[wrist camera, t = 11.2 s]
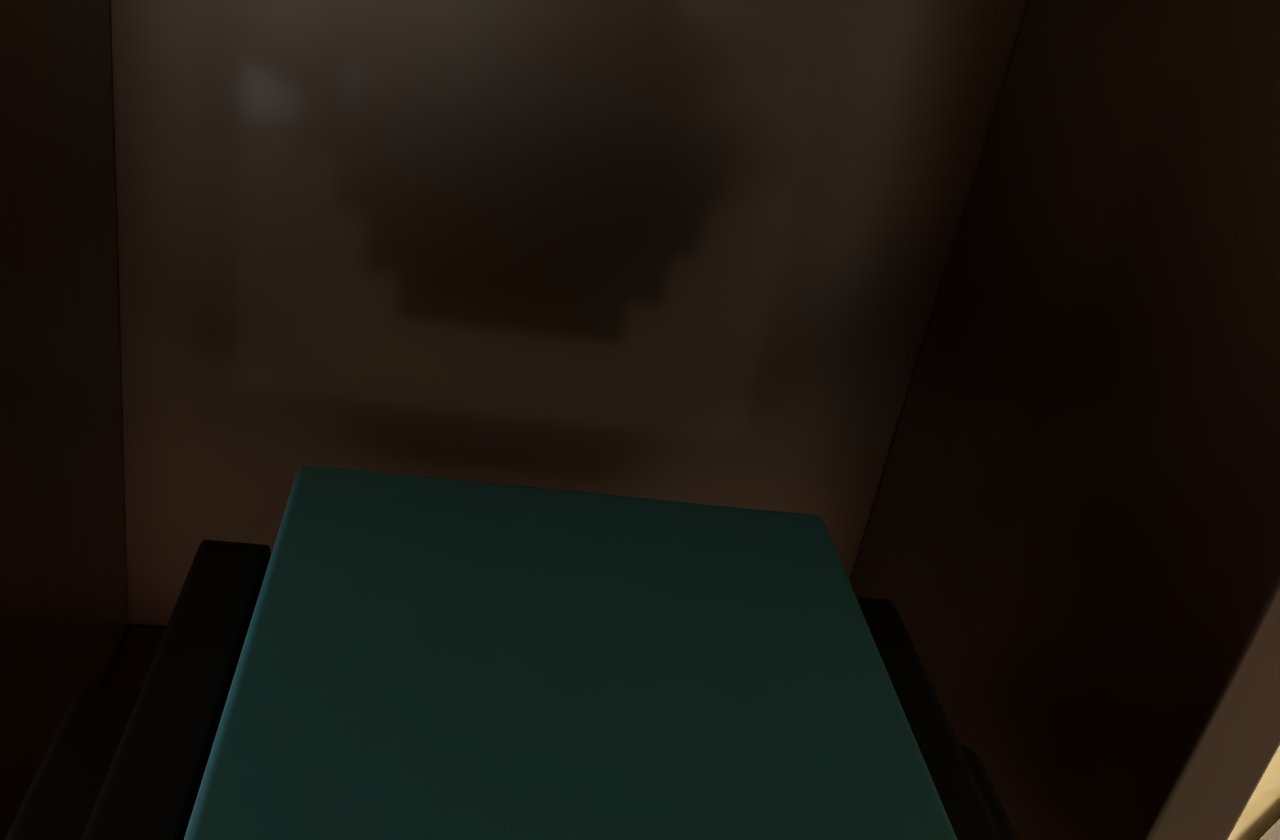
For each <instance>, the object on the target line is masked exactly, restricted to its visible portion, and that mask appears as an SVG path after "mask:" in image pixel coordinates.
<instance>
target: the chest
mask: <svg viewBox="0 0 1280 840" xmlns="http://www.w3.org/2000/svg"><path fill="white" fill-rule="evenodd" d="M306 465H312V466H322V467H332V468H342V469H353V470H363V471H373V472H383V473H393V474H403V475H414V476H424V477H434V478H444V479H454V480H464V481H475V482H485V483H495V484H505V485H515V486H525V487H536V488H546V489H556V490H566V491H576V492H586V493H597V494H607V495H617V496H627V497H637V498H647V499H658V500H668V501H678V502H688V503H698V504H708V505H719V506H729V507H739V508H749V509H759V510H769V511H780V512H790V513H800V514H810V515H817V516H819V517H821V518H822V519H823V520H824V522H825V525H826V527H827V530H828V532H829V534H830V537H831V539H832V541H833V544H834V546H835V549H836V551H837V553H838V556H839V558H840V561H841V563H842V565H843V568H844V570H845V572H846V575H847V577H848V580H849V582H850V584H851V587H852V589H853V592H854V594H855V596H857V597H869V598H880V599H888V600H890V601H892V603H893V604H894V606H895V607H896V609H897V611H898V613H899V615H900V617H901V620H902V622H903V624H904V626H905V628H906V630H907V633H908V635H909V637H910V639H911V641H912V643H913V646H914V648H915V650H916V652H917V654H918V657H919V659H920V661H921V663H922V665H923V667H924V670H925V672H926V674H927V676H928V678H929V680H930V683H931V685H932V687H933V689H934V691H935V693H936V696H937V698H938V700H939V702H940V704H941V707H942V709H943V711H944V713H945V715H946V717H947V720H948V722H949V724H950V726H951V728H952V730H953V733H954V735H955V737H956V739H957V741H958V744H959V745H965V746H967V747H968V748H970V749H971V750H973V751H974V752H975V753H976V754H977V756H978V757H979V759H980V760H981V762H982V764H983V765H984V767H985V769H986V771H987V773H988V776H989V778H990V780H991V782H992V784H993V786H994V788H995V790H996V792H997V795H998V797H999V799H1000V801H1001V803H1002V805H1003V807H1004V809H1005V811H1006V813H1007V816H1008V818H1009V820H1010V822H1011V824H1012V826H1013V828H1014V830H1015V832H1016V835H1017V837H1018V839H1019V840H1227V839H1228V837H1229V836H1230V834H1231V832H1232V830H1233V828H1234V827H1235V825H1236V823H1237V821H1238V819H1239V818H1240V816H1241V814H1242V812H1243V810H1244V808H1245V807H1246V805H1247V803H1248V801H1249V799H1250V798H1251V796H1252V794H1253V792H1254V790H1255V788H1256V787H1257V785H1258V783H1259V781H1260V779H1261V778H1262V776H1263V774H1264V772H1265V770H1266V769H1267V767H1268V765H1269V763H1270V761H1271V759H1272V758H1273V756H1274V754H1275V752H1276V750H1277V749H1278V747H1279V745H1280V0H0V840H5V838H6V836H7V833H8V831H9V829H10V827H11V825H12V823H13V821H14V819H15V817H16V814H17V812H18V810H19V808H20V806H21V804H22V802H23V800H24V798H25V796H26V793H27V791H28V789H29V787H30V785H31V783H32V781H33V779H34V777H35V774H36V772H37V770H38V768H39V766H40V764H41V762H42V760H43V758H44V756H45V753H46V751H47V749H48V747H49V745H50V743H51V741H52V739H53V737H54V734H55V732H56V730H57V728H58V726H59V724H60V722H61V720H62V718H63V716H64V713H65V711H66V709H67V707H68V705H69V704H70V702H71V700H72V698H73V697H74V695H75V693H76V692H77V691H78V690H80V689H81V688H82V687H83V686H86V687H101V688H116V689H131V690H141V689H142V686H143V684H144V681H145V679H146V676H147V674H148V671H149V669H150V666H151V664H152V661H153V659H154V656H155V654H156V652H157V649H158V647H159V644H160V642H161V639H162V637H163V634H164V632H165V629H166V627H167V624H168V622H169V619H170V617H171V614H172V612H173V609H174V607H175V604H176V602H177V599H178V597H179V595H180V592H181V590H182V587H183V585H184V582H185V580H186V577H187V575H188V572H189V570H190V567H191V565H192V562H193V560H194V557H195V555H196V552H197V550H198V548H199V546H200V544H201V542H202V541H203V540H216V541H228V542H239V543H251V544H262V545H269V547H270V552H271V554H272V551H273V547H274V544H275V541H276V538H277V534H278V531H279V528H280V525H281V521H282V518H283V515H284V512H285V508H286V505H287V502H288V499H289V495H290V492H291V489H292V485H293V482H294V479H295V476H296V473H297V471H298V470H299V468H300V467H301V466H306Z"/></svg>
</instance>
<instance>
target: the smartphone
mask: <svg viewBox="0 0 1280 840" xmlns="http://www.w3.org/2000/svg"><path fill="white" fill-rule="evenodd" d="M1259 840H1280V819H1279V820H1278V821H1277V822H1276V823H1275V824H1274V825H1273V826H1272V827H1271V828H1270V829H1269V830H1268V831H1267V832H1266V833H1265V834H1264V835H1263V836H1262V837H1261V838H1260V839H1259Z"/></svg>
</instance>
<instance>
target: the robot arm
mask: <svg viewBox="0 0 1280 840" xmlns="http://www.w3.org/2000/svg"><path fill="white" fill-rule="evenodd" d="M270 557H271V552H270V547H269V545H262V544H251V543H239V542H228V541H216V540H203V541H202V542H201V544H200V546H199V548H198V550H197V552H196V555H195V557H194V560H193V562H192V565H191V567H190V570H189V572H188V575H187V577H186V580H185V582H184V585H183V587H182V590H181V592H180V595H179V597H178V599H177V602H176V604H175V607H174V609H173V612H172V614H171V617H170V619H169V622H168V624H167V627H166V629H165V632H164V634H163V637H162V639H161V642H160V644H159V647H158V649H157V652H156V654H155V656H154V659H153V661H152V664H151V666H150V669H149V671H148V674H147V676H146V679H145V681H144V684H143V686H142V689H141V690H131V689H116V688H101V687H86V686H83V687H82V688H81V689H80V690H78V691H77V692H76V693H75V695H74V697H73V698H72V700H71V702H70V704H69V705H68V707H67V709H66V711H65V713H64V716H63V718H62V720H61V722H60V724H59V726H58V728H57V730H56V732H55V734H54V737H53V739H52V741H51V743H50V745H49V747H48V749H47V751H46V753H45V756H44V758H43V760H42V762H41V764H40V766H39V768H38V770H37V772H36V774H35V777H34V779H33V781H32V783H31V785H30V787H29V789H28V791H27V793H26V796H25V798H24V800H23V802H22V804H21V806H20V808H19V810H18V812H17V814H16V817H15V819H14V821H13V823H12V825H11V827H10V829H9V831H8V833H7V836H6V838H5V840H184V837H185V834H186V831H187V828H188V824H189V821H190V818H191V815H192V811H193V808H194V805H195V802H196V798H197V795H198V792H199V789H200V785H201V782H202V779H203V775H204V772H205V769H206V766H207V762H208V759H209V756H210V753H211V749H212V746H213V743H214V740H215V736H216V733H217V730H218V727H219V723H220V720H221V717H222V714H223V710H224V707H225V704H226V701H227V697H228V694H229V691H230V687H231V684H232V681H233V678H234V674H235V671H236V668H237V665H238V661H239V658H240V655H241V652H242V648H243V645H244V642H245V639H246V635H247V632H248V629H249V626H250V622H251V619H252V616H253V613H254V609H255V606H256V603H257V600H258V596H259V593H260V590H261V586H262V583H263V580H264V577H265V573H266V570H267V567H268V564H269V560H270ZM856 599H857V601H858V604H859V606H860V608H861V611H862V613H863V615H864V618H865V620H866V623H867V625H868V627H869V630H870V632H871V635H872V637H873V639H874V642H875V644H876V647H877V649H878V651H879V654H880V656H881V658H882V661H883V663H884V666H885V668H886V670H887V673H888V675H889V678H890V680H891V682H892V685H893V687H894V690H895V692H896V694H897V697H898V699H899V701H900V704H901V706H902V709H903V711H904V713H905V716H906V718H907V721H908V723H909V725H910V728H911V730H912V733H913V735H914V737H915V740H916V742H917V744H918V747H919V749H920V752H921V754H922V756H923V759H924V761H925V764H926V766H927V768H928V771H929V773H930V776H931V778H932V780H933V783H934V785H935V787H936V790H937V792H938V795H939V797H940V799H941V802H942V804H943V807H944V809H945V811H946V814H947V816H948V818H949V821H950V823H951V826H952V828H953V830H954V833H955V835H956V838H957V840H1019V839H1018V837H1017V835H1016V832H1015V830H1014V828H1013V826H1012V824H1011V822H1010V820H1009V818H1008V816H1007V813H1006V811H1005V809H1004V807H1003V805H1002V803H1001V801H1000V799H999V797H998V795H997V792H996V790H995V788H994V786H993V784H992V782H991V780H990V778H989V776H988V773H987V771H986V769H985V767H984V765H983V764H982V762H981V760H980V759H979V757H978V756H977V754H976V753H975V752H974V751H973V750H971V749H970V748H968V747H967V746H965V745H959V744H958V741H957V739H956V737H955V735H954V733H953V730H952V728H951V726H950V724H949V722H948V720H947V717H946V715H945V713H944V711H943V709H942V707H941V704H940V702H939V700H938V698H937V696H936V693H935V691H934V689H933V687H932V685H931V683H930V680H929V678H928V676H927V674H926V672H925V670H924V667H923V665H922V663H921V661H920V659H919V657H918V654H917V652H916V650H915V648H914V646H913V643H912V641H911V639H910V637H909V635H908V633H907V630H906V628H905V626H904V624H903V622H902V620H901V617H900V615H899V613H898V611H897V609H896V607H895V606H894V604H893V603H892V601H890V600H888V599H880V598H869V597H857V596H856Z"/></svg>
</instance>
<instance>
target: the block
mask: <svg viewBox="0 0 1280 840" xmlns="http://www.w3.org/2000/svg"><path fill="white" fill-rule="evenodd" d="M184 840H957V838H956V835H955V833H954V830H953V828H952V826H951V823H950V821H949V818H948V816H947V814H946V811H945V809H944V807H943V804H942V802H941V799H940V797H939V795H938V792H937V790H936V787H935V785H934V783H933V780H932V778H931V776H930V773H929V771H928V768H927V766H926V764H925V761H924V759H923V756H922V754H921V752H920V749H919V747H918V744H917V742H916V740H915V737H914V735H913V733H912V730H911V728H910V725H909V723H908V721H907V718H906V716H905V713H904V711H903V709H902V706H901V704H900V701H899V699H898V697H897V694H896V692H895V690H894V687H893V685H892V682H891V680H890V678H889V675H888V673H887V670H886V668H885V666H884V663H883V661H882V658H881V656H880V654H879V651H878V649H877V647H876V644H875V642H874V639H873V637H872V635H871V632H870V630H869V627H868V625H867V623H866V620H865V618H864V615H863V613H862V611H861V608H860V606H859V604H858V601H857V599H856V596H855V594H854V592H853V589H852V587H851V584H850V582H849V580H848V577H847V575H846V572H845V570H844V568H843V565H842V563H841V561H840V558H839V556H838V553H837V551H836V549H835V546H834V544H833V541H832V539H831V537H830V534H829V532H828V530H827V527H826V525H825V522H824V520H823V519H822V518H821V517H819V516H817V515H810V514H800V513H790V512H780V511H769V510H759V509H749V508H739V507H729V506H719V505H708V504H698V503H688V502H678V501H668V500H658V499H647V498H637V497H627V496H617V495H607V494H597V493H586V492H576V491H566V490H556V489H546V488H536V487H525V486H515V485H505V484H495V483H485V482H475V481H464V480H454V479H444V478H434V477H424V476H414V475H403V474H393V473H383V472H373V471H363V470H353V469H342V468H332V467H322V466H312V465H306V466H301V467H300V468H299V470H298V471H297V473H296V476H295V479H294V482H293V485H292V489H291V492H290V495H289V499H288V502H287V505H286V508H285V512H284V515H283V518H282V521H281V525H280V528H279V531H278V534H277V538H276V541H275V544H274V547H273V551H272V554H271V557H270V560H269V564H268V567H267V570H266V573H265V577H264V580H263V583H262V586H261V590H260V593H259V596H258V600H257V603H256V606H255V609H254V613H253V616H252V619H251V622H250V626H249V629H248V632H247V635H246V639H245V642H244V645H243V648H242V652H241V655H240V658H239V661H238V665H237V668H236V671H235V674H234V678H233V681H232V684H231V687H230V691H229V694H228V697H227V701H226V704H225V707H224V710H223V714H222V717H221V720H220V723H219V727H218V730H217V733H216V736H215V740H214V743H213V746H212V749H211V753H210V756H209V759H208V762H207V766H206V769H205V772H204V775H203V779H202V782H201V785H200V789H199V792H198V795H197V798H196V802H195V805H194V808H193V811H192V815H191V818H190V821H189V824H188V828H187V831H186V834H185V837H184Z"/></svg>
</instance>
